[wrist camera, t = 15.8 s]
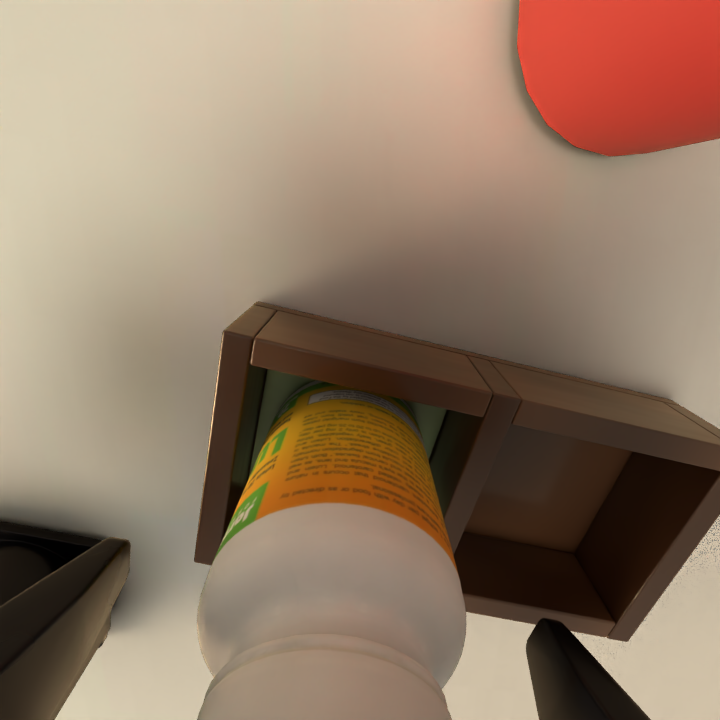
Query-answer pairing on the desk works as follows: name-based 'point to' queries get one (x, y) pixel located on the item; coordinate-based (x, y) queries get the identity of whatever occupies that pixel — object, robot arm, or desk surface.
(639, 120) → the beer can
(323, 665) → the supplement bottle
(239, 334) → the organizer
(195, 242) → the desk surface
